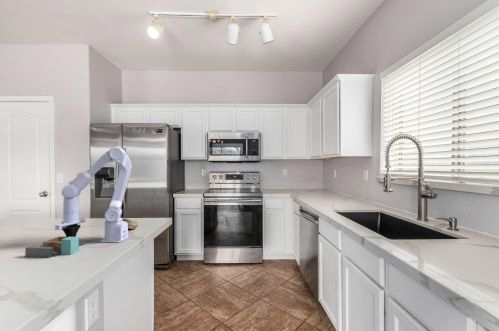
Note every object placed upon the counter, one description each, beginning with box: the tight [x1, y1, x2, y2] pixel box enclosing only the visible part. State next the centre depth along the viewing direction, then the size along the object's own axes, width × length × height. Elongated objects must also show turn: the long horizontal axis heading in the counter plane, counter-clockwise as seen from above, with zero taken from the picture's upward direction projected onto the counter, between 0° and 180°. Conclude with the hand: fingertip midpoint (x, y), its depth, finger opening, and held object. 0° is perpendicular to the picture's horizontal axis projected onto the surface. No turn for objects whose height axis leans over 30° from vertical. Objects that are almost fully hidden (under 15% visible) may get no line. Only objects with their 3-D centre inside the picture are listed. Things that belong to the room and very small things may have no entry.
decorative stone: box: [122, 218, 139, 230], centre depth 139 cm, size 10×4×15 cm
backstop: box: [25, 241, 85, 259], centre depth 102 cm, size 12×16×4 cm
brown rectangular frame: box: [42, 236, 67, 252], centre depth 105 cm, size 9×8×4 cm
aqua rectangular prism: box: [60, 236, 80, 256], centre depth 99 cm, size 4×4×6 cm
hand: (71, 241), depth 110 cm, fingers closed
